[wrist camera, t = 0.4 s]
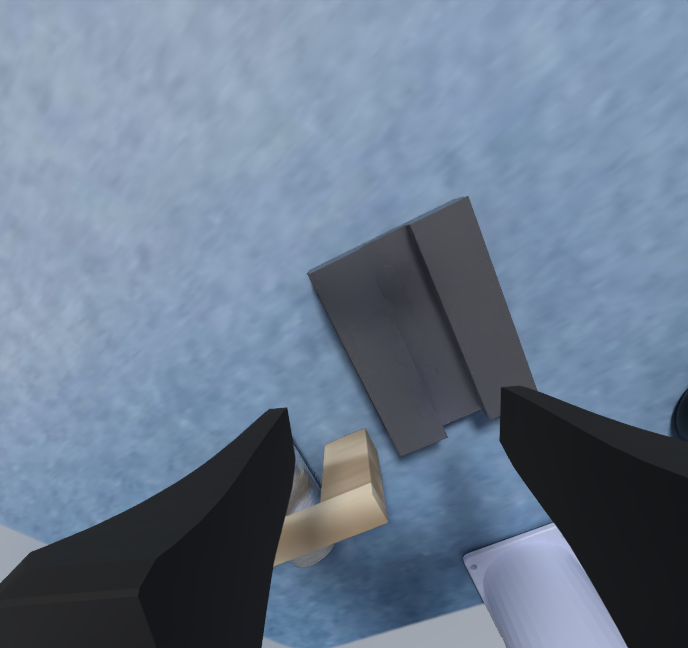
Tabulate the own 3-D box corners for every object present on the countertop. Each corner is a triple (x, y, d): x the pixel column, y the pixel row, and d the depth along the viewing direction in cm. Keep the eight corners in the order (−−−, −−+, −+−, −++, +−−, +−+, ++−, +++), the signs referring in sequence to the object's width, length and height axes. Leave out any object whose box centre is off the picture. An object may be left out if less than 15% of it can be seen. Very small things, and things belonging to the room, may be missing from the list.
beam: (377, 451, 23) (388, 522, 17) (227, 512, 24) (192, 597, 19) (364, 428, 22) (372, 494, 17) (212, 492, 24) (172, 573, 18)
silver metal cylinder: (343, 505, 24) (335, 560, 20) (295, 518, 25) (280, 573, 21) (291, 416, 22) (271, 459, 18) (241, 434, 23) (213, 478, 19)
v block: (519, 378, 21) (544, 398, 19) (391, 431, 22) (397, 457, 20) (453, 199, 18) (472, 194, 16) (309, 270, 19) (304, 276, 17)
